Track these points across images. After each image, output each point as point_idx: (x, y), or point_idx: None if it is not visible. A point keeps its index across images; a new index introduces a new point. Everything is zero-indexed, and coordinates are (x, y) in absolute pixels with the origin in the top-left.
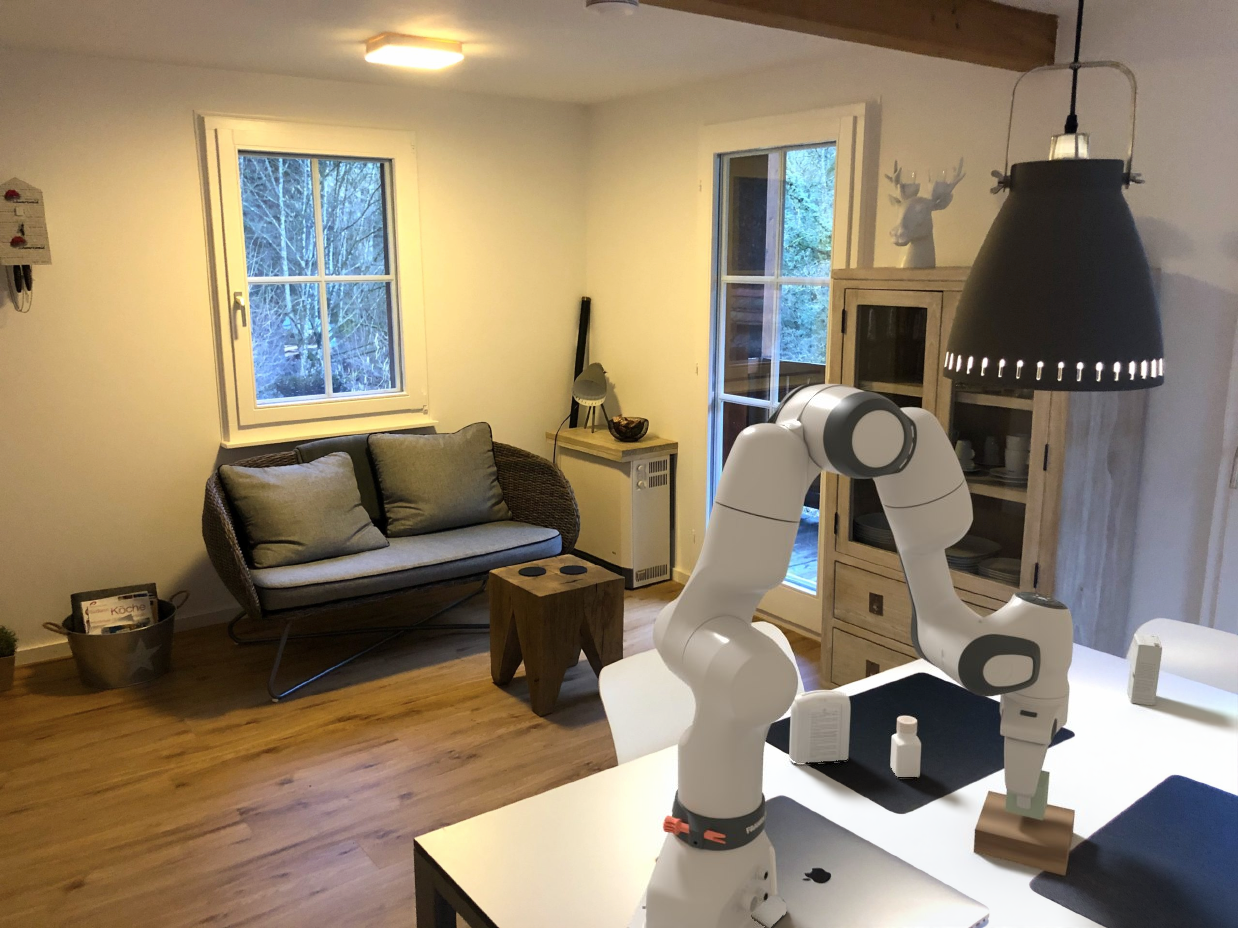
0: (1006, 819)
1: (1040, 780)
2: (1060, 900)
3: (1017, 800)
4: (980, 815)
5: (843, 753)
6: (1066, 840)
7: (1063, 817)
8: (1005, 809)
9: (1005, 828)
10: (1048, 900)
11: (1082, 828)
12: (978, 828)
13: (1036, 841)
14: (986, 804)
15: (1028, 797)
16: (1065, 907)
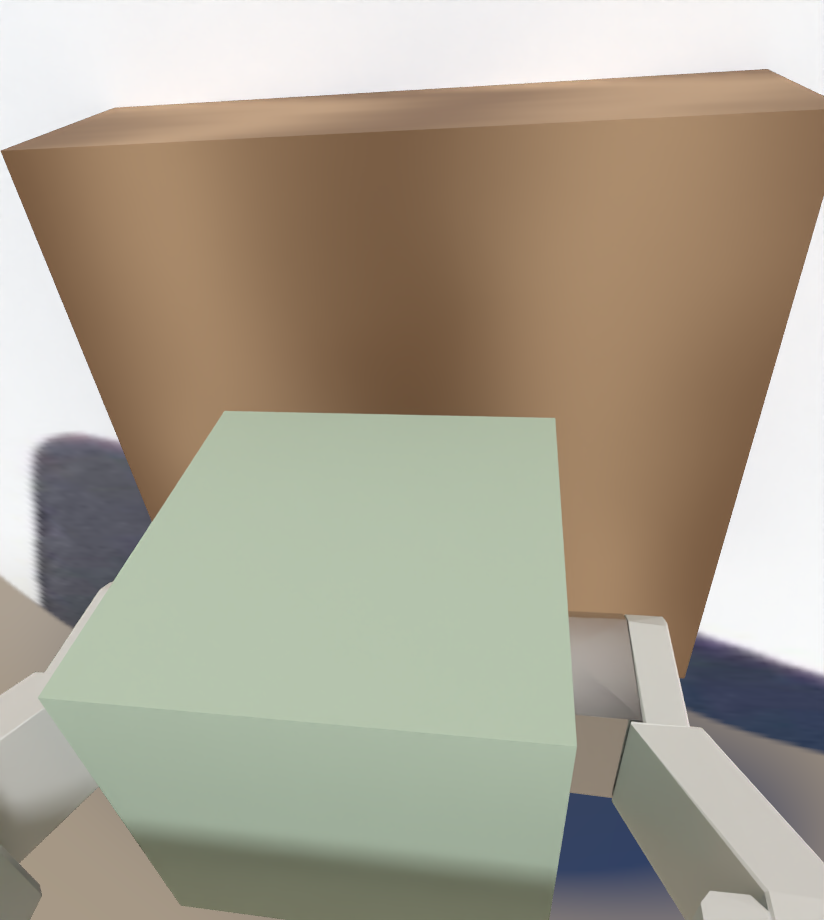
0: (334, 356)
1: (297, 893)
2: (62, 538)
3: (81, 621)
4: (257, 144)
5: None
6: None
7: None
8: (217, 422)
9: (200, 367)
10: (23, 504)
11: (717, 598)
12: (39, 177)
13: None
14: (502, 154)
15: None
16: (35, 552)
